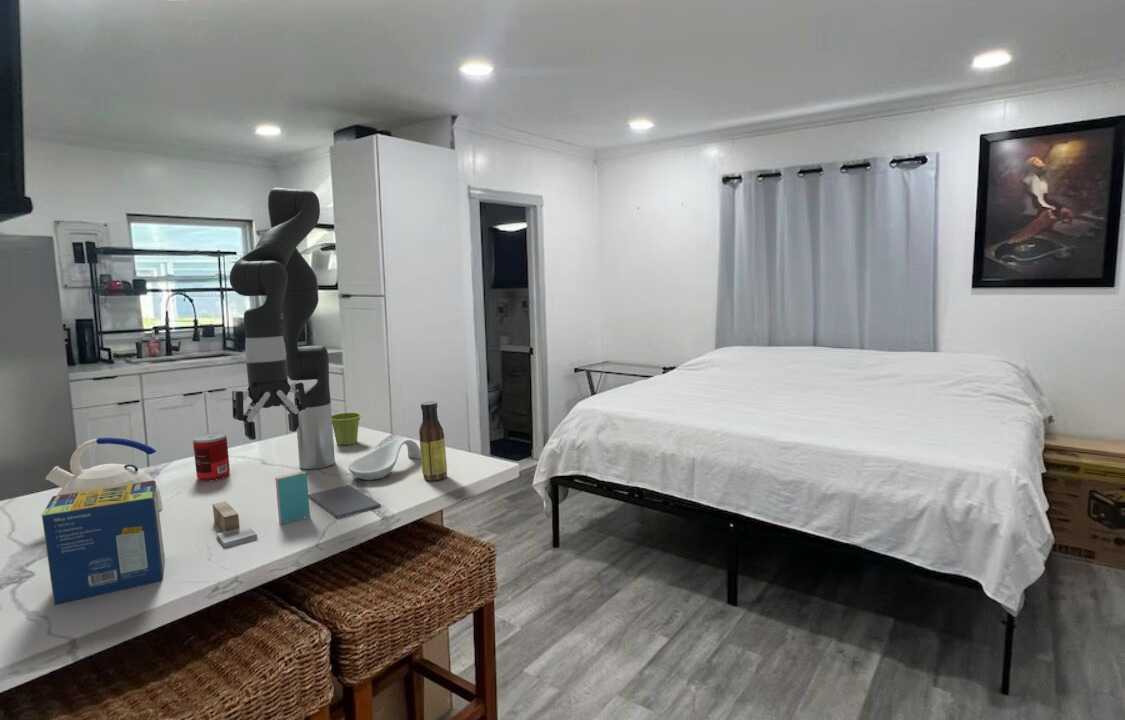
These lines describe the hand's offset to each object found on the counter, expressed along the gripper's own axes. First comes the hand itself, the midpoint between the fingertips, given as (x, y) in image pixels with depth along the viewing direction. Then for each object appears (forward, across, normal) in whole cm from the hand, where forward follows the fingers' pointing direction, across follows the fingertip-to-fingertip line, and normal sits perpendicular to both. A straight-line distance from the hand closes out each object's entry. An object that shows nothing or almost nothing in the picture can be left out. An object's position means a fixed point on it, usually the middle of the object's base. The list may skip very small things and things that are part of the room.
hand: (273, 435), depth 132 cm
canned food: (+18, -2, -45) cm, 49 cm away
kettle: (+19, +23, -34) cm, 45 cm away
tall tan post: (+19, +8, -4) cm, 22 cm away
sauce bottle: (+19, -39, +1) cm, 44 cm away
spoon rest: (+19, -35, -14) cm, 43 cm away
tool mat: (+19, -15, -2) cm, 25 cm away
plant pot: (+18, -42, -48) cm, 66 cm away
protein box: (+20, +30, +2) cm, 36 cm away
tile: (+19, -3, 0) cm, 20 cm away
